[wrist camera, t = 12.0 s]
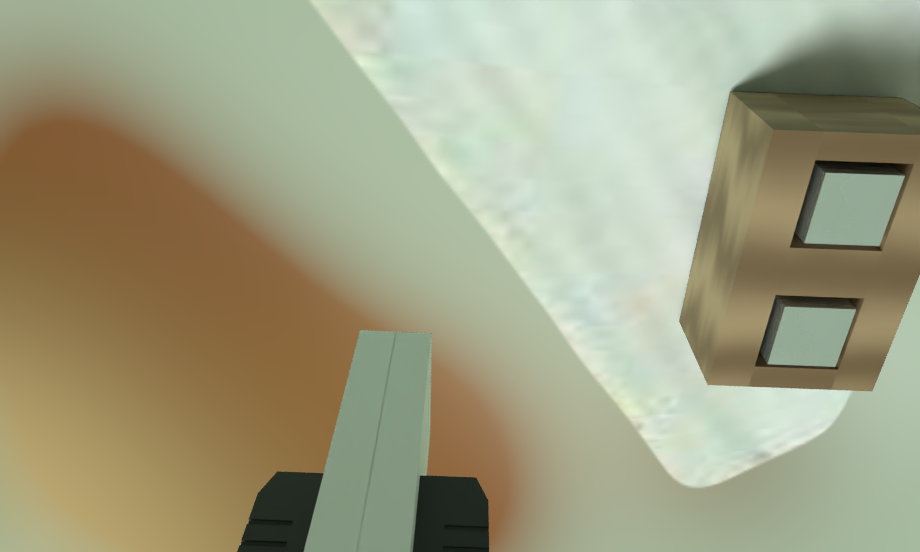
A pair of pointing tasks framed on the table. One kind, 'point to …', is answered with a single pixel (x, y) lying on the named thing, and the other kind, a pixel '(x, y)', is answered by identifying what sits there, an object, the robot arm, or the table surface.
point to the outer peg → (806, 330)
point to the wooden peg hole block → (781, 250)
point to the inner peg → (848, 203)
